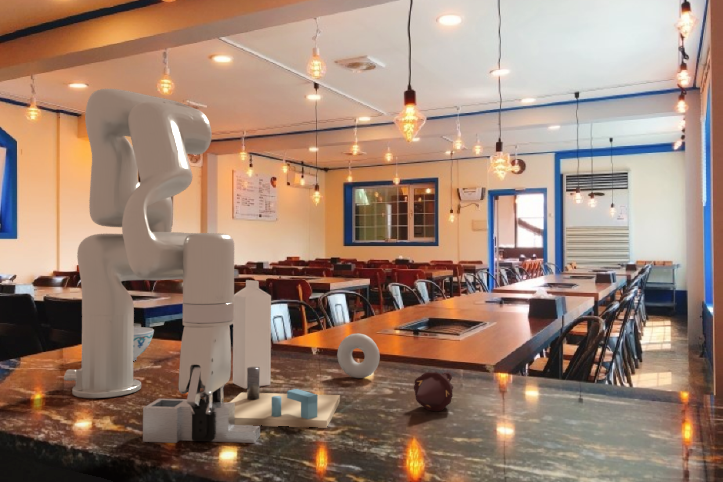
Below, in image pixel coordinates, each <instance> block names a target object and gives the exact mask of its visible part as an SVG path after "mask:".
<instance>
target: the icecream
mask: <svg viewBox="0 0 723 482" xmlns="http://www.w3.org/2000/svg"><path fill="white" fill-rule="evenodd" d="M452 379H453V373H452V372H450V371H444V372H442V373H439V372H436V371H435V372H433V371H431V372H430V371H426V372H424V373H423V374H422V375H420V376H418V377H417V378H416V379H414V385H413V390H414V395H415V400H416V402H417V403H418V404H419V405H421V407H423V408H424V409H425V410H426V411H434V412H442V411H443V410H444V409H446V407H448V406H449V405H450V404H451V402H452V400H453V399H452V398H453V389H454V386H453V384H452V383H451V381H452Z"/></svg>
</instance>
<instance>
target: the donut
mask: <svg viewBox="0 0 723 482" xmlns="http://www.w3.org/2000/svg"><path fill="white" fill-rule="evenodd" d="M355 349H359V350H360V351H362V352H363V355H364V359H363V361H361V362H357V361H356V360H355V359H354V357H353V352H354V350H355ZM380 355H381V354H380V349H379V347H378V346H377V343H376V342H375V341H374V340H373V338H371V337H370V336H369V335H366V334H363V333H351V334H349V335H348V336H347V335H346V336H345V337H344V339H342V341H340V344H339V346H338V349H337V354H336V357H337V361H338V364H339V366H340V368H341V370H343V372H344V373H345V374H346V375H348V376H349V377H351V378H355V379H365V378H368V377H370V376H371V375H372V374H374V372H375V371H376V370H377V369H378V366H379V364H380V357H381V356H380Z"/></svg>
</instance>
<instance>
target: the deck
mask: <svg viewBox="0 0 723 482" xmlns="http://www.w3.org/2000/svg"><path fill="white" fill-rule="evenodd" d="M317 395H318V401H317V417H315V418H311V419H305V418H302V417H301V402H299V401H295V400H292V399H289V398H287V393H275V392H273V393H270V392H267V393H265V392H259V399H257V400H248V399H247V392H240V393H239V394H238V395H237V396H235V397H234V398H233V399H232V400H230V401H229V402H230V403H235V425H260V427H278V426H289V428H309V427H318V428H317V429H327V428H328V427H329V424H330V422H331V421H332V419H333V416H334V414H335V412H336V410H337V408H338V406H339V405H340V402H341V395H340V394H339V395H338V394H317ZM273 396H281V416H279V417H272V416H271V415H272V397H273ZM261 425H262V426H261ZM327 426H328V427H327Z"/></svg>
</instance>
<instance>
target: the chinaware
mask: <svg viewBox="0 0 723 482" xmlns="http://www.w3.org/2000/svg"><path fill="white" fill-rule="evenodd" d="M154 332H155V329H153V327H144V326H143V327H142V326H141V327H140V326H134V337H133V361H134V362H136V361H137V357H139V356H140V355H142V353H144V352H145V351H146V350H147V349H148V347H149V346H150V343H151V342H152V339H153V336H154ZM135 360H136V361H135Z"/></svg>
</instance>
